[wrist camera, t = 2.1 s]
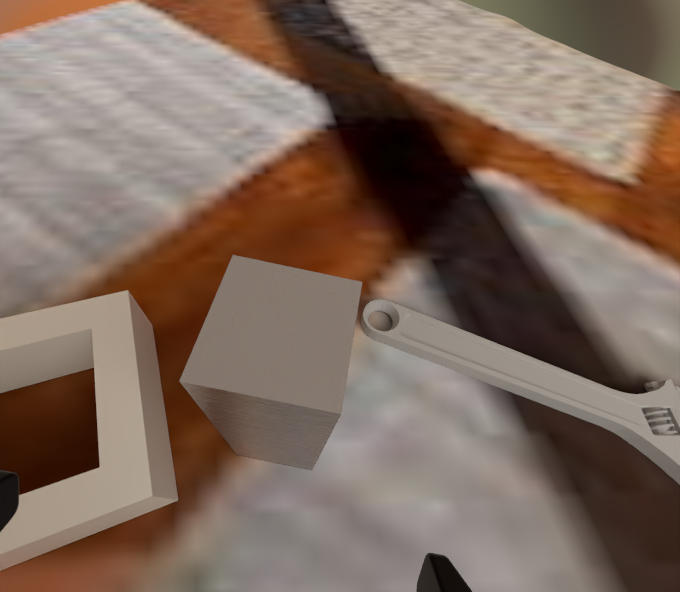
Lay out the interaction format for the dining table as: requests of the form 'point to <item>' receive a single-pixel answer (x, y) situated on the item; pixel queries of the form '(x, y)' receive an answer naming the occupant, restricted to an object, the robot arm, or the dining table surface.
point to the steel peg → (274, 359)
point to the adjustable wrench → (541, 382)
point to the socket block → (112, 420)
